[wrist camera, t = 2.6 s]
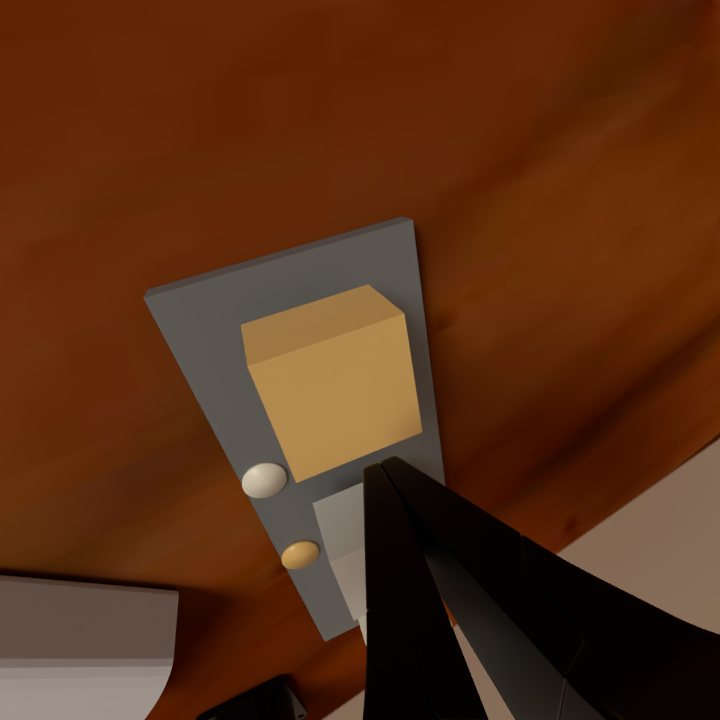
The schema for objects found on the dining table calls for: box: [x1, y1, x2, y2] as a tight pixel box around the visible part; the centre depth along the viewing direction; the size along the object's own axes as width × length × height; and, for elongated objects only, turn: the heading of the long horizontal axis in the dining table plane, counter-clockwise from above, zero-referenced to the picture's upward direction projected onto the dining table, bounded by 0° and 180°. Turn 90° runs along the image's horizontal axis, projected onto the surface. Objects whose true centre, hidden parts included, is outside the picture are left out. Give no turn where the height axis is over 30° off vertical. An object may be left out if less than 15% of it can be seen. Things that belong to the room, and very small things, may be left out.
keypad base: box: [144, 217, 445, 641], centre depth 21 cm, size 25×10×1 cm, turn 12°
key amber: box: [241, 284, 422, 483], centre depth 13 cm, size 4×4×3 cm
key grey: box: [313, 482, 367, 620], centre depth 17 cm, size 4×4×3 cm
